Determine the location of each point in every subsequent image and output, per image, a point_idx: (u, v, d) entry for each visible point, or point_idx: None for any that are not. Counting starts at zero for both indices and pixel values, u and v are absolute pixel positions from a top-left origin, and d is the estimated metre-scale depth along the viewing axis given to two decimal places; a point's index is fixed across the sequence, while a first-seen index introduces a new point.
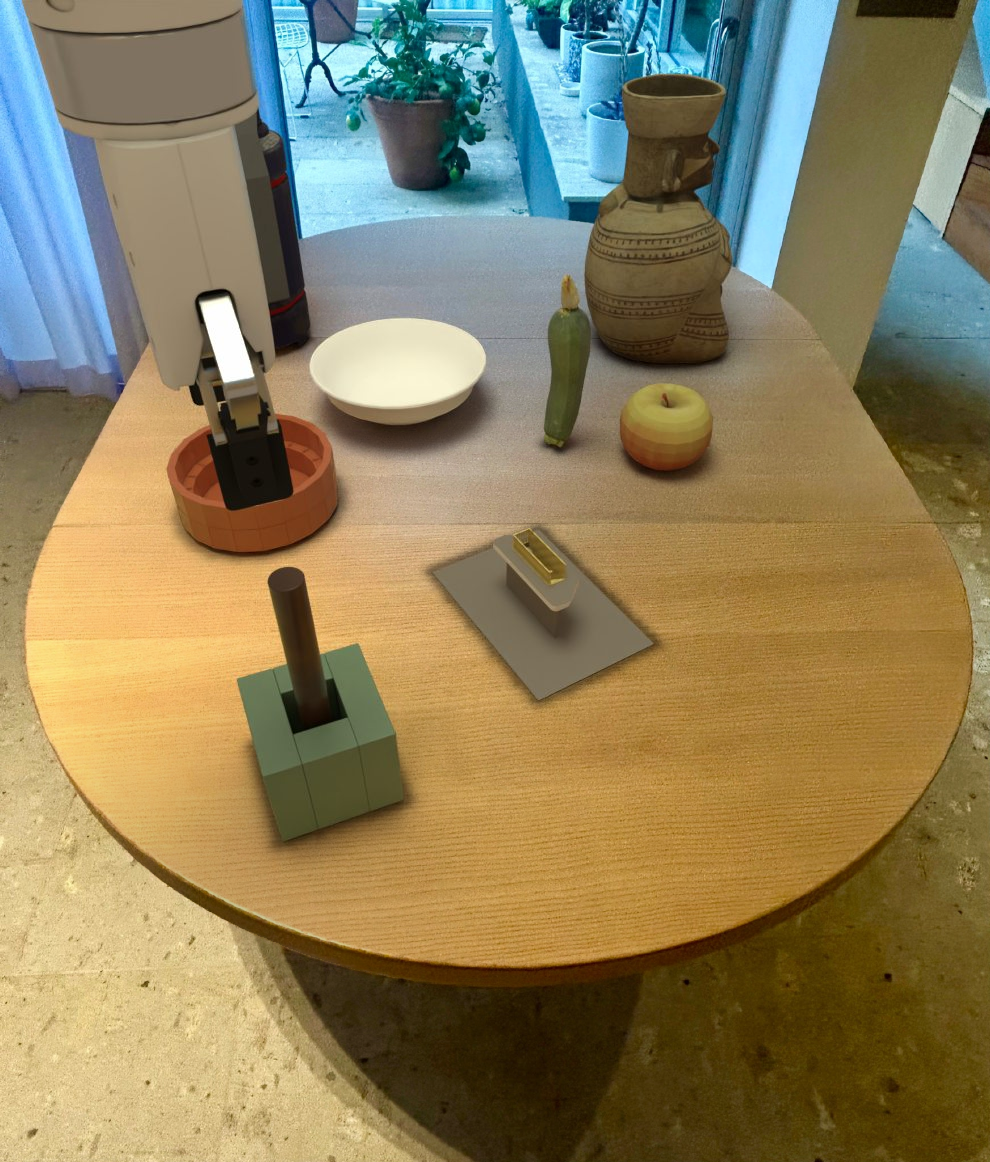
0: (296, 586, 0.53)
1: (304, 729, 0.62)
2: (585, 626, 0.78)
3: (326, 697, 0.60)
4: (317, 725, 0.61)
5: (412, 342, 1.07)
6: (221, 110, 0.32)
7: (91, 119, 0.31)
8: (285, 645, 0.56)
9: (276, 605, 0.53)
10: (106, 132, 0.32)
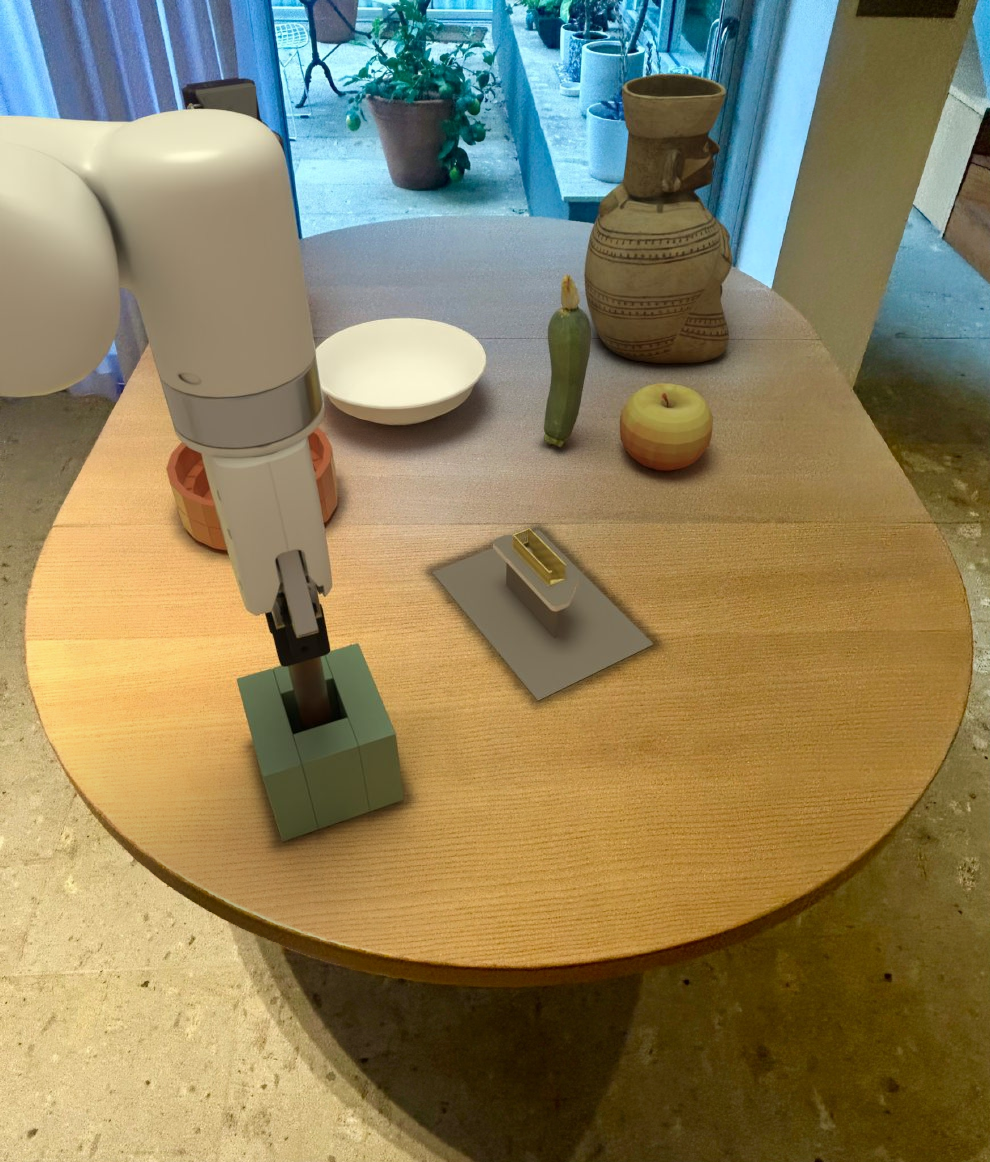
0: None
1: (304, 729, 0.62)
2: (585, 627, 0.78)
3: (326, 697, 0.60)
4: (317, 725, 0.61)
5: (412, 342, 1.07)
6: (299, 430, 0.43)
7: (204, 443, 0.42)
8: None
9: None
10: (215, 452, 0.42)
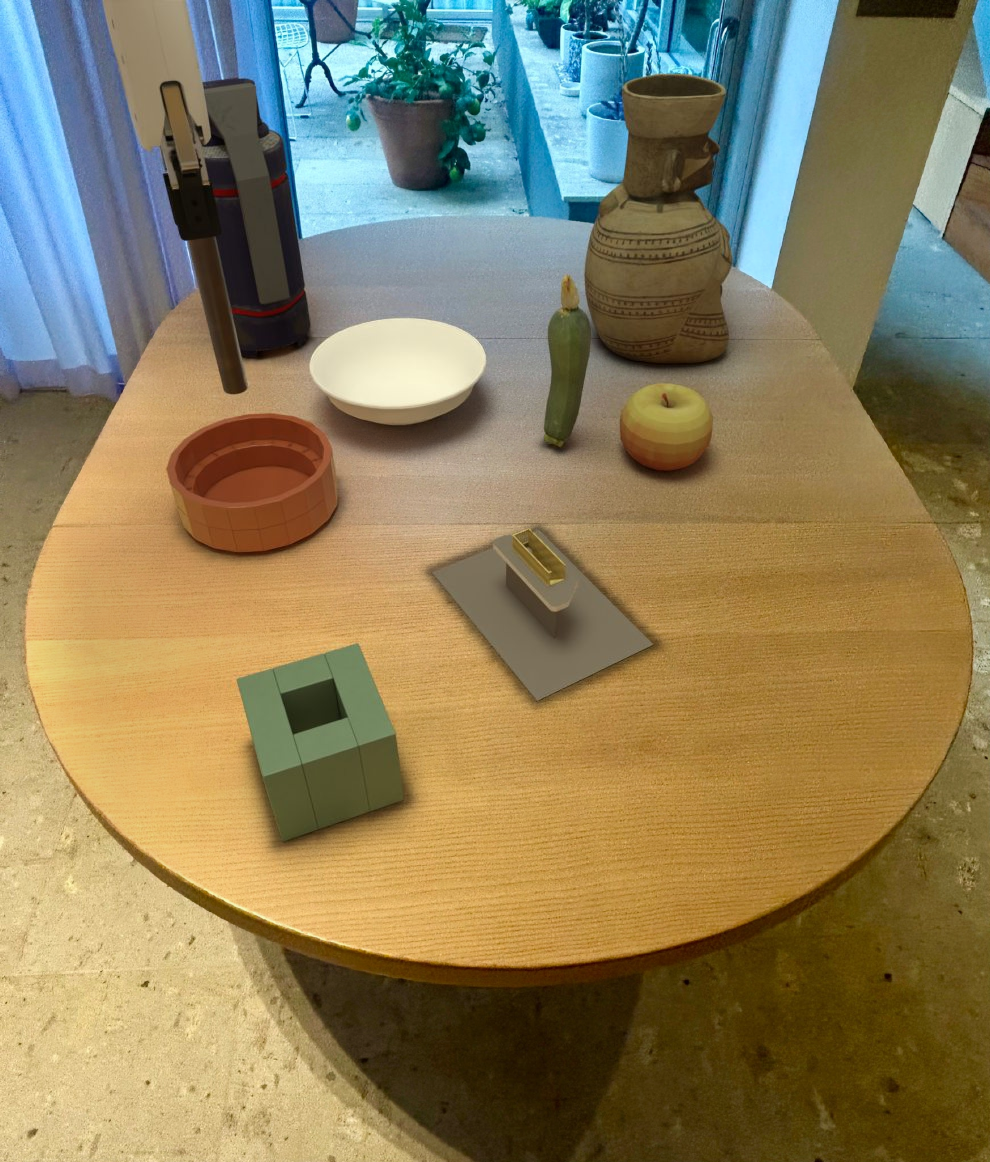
0: None
1: (210, 328, 0.76)
2: (585, 627, 0.78)
3: (225, 294, 0.74)
4: (219, 321, 0.75)
5: (412, 342, 1.07)
6: None
7: None
8: None
9: None
10: None
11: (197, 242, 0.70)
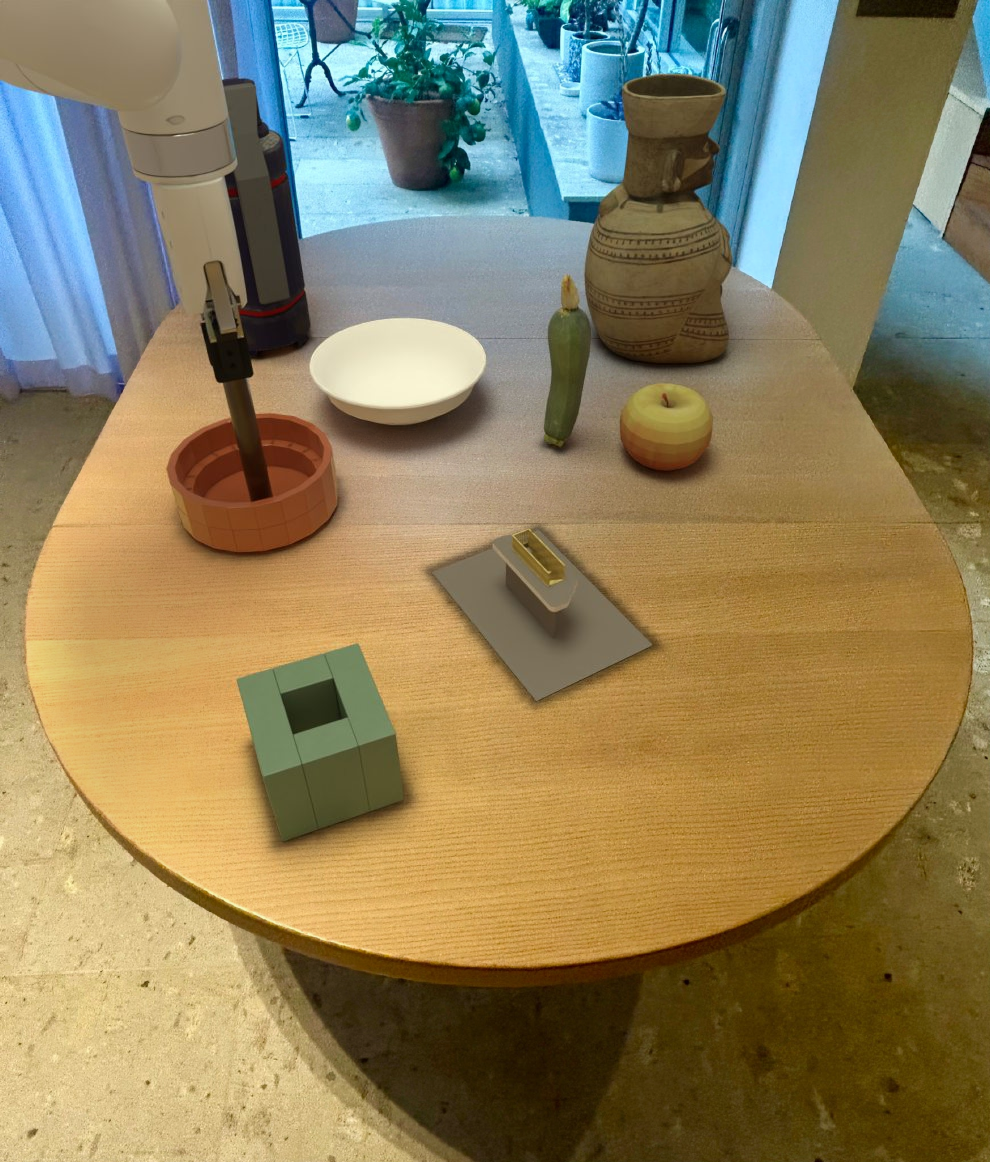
0: None
1: (240, 452, 0.82)
2: (584, 627, 0.78)
3: (255, 423, 0.81)
4: (249, 447, 0.82)
5: (412, 342, 1.07)
6: (217, 169, 0.64)
7: (152, 174, 0.63)
8: None
9: None
10: (159, 180, 0.63)
11: (231, 382, 0.77)
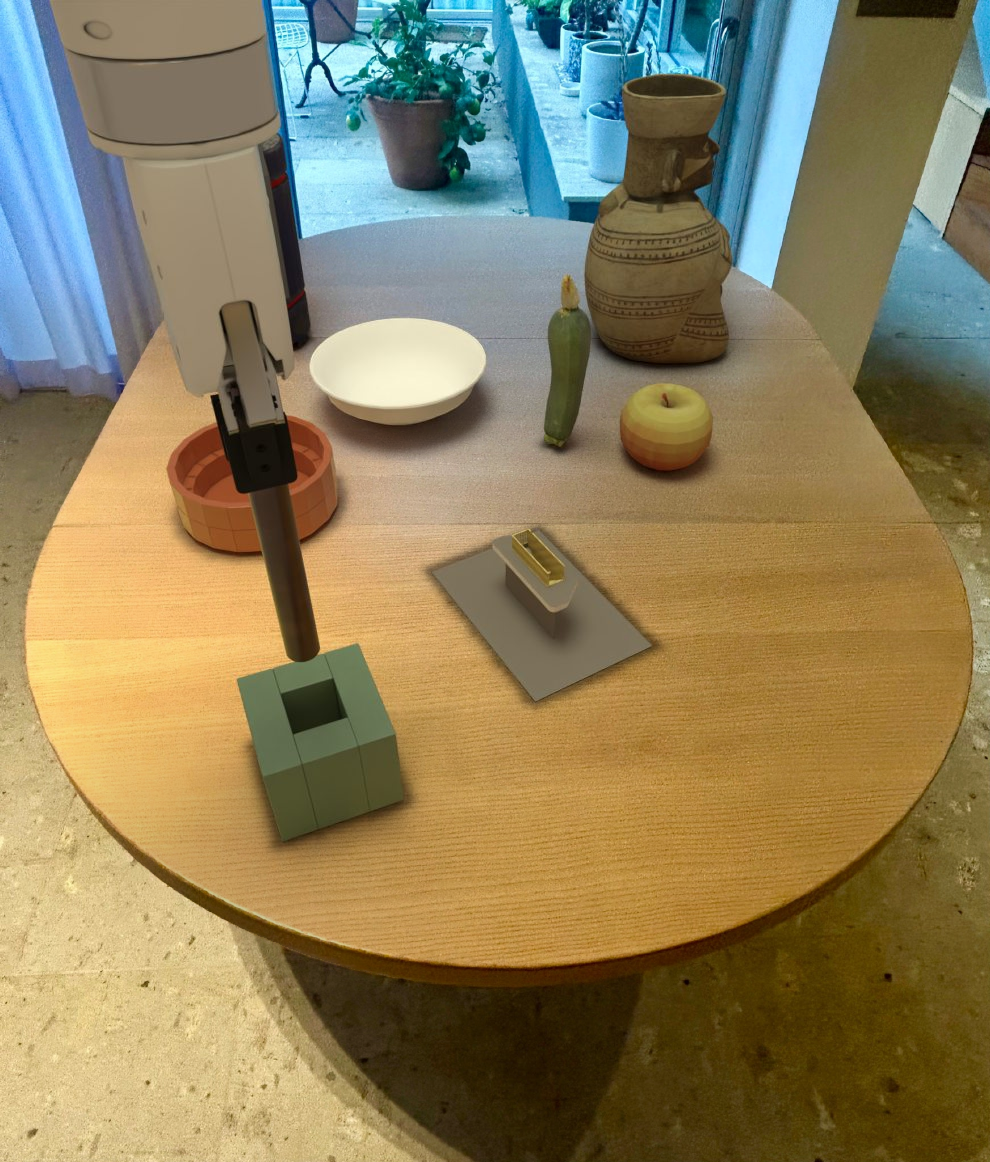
0: None
1: (272, 588, 0.53)
2: (584, 628, 0.78)
3: (297, 546, 0.51)
4: (287, 581, 0.52)
5: (412, 342, 1.07)
6: (246, 131, 0.34)
7: (123, 140, 0.33)
8: None
9: None
10: (137, 152, 0.33)
11: None
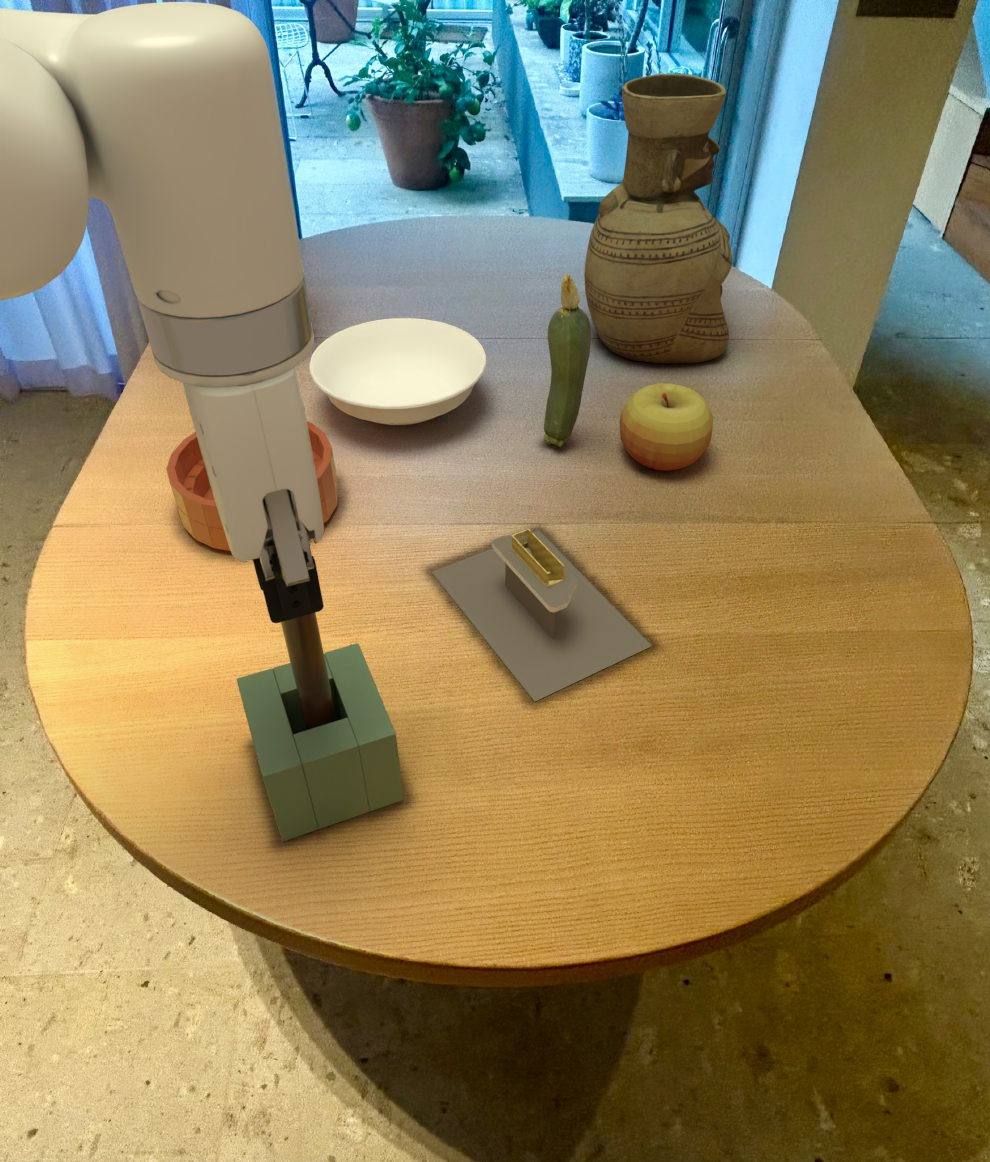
0: None
1: (299, 692, 0.59)
2: (584, 628, 0.78)
3: (322, 658, 0.58)
4: (313, 687, 0.59)
5: (412, 342, 1.07)
6: (287, 358, 0.41)
7: (185, 371, 0.40)
8: None
9: None
10: (197, 381, 0.40)
11: None
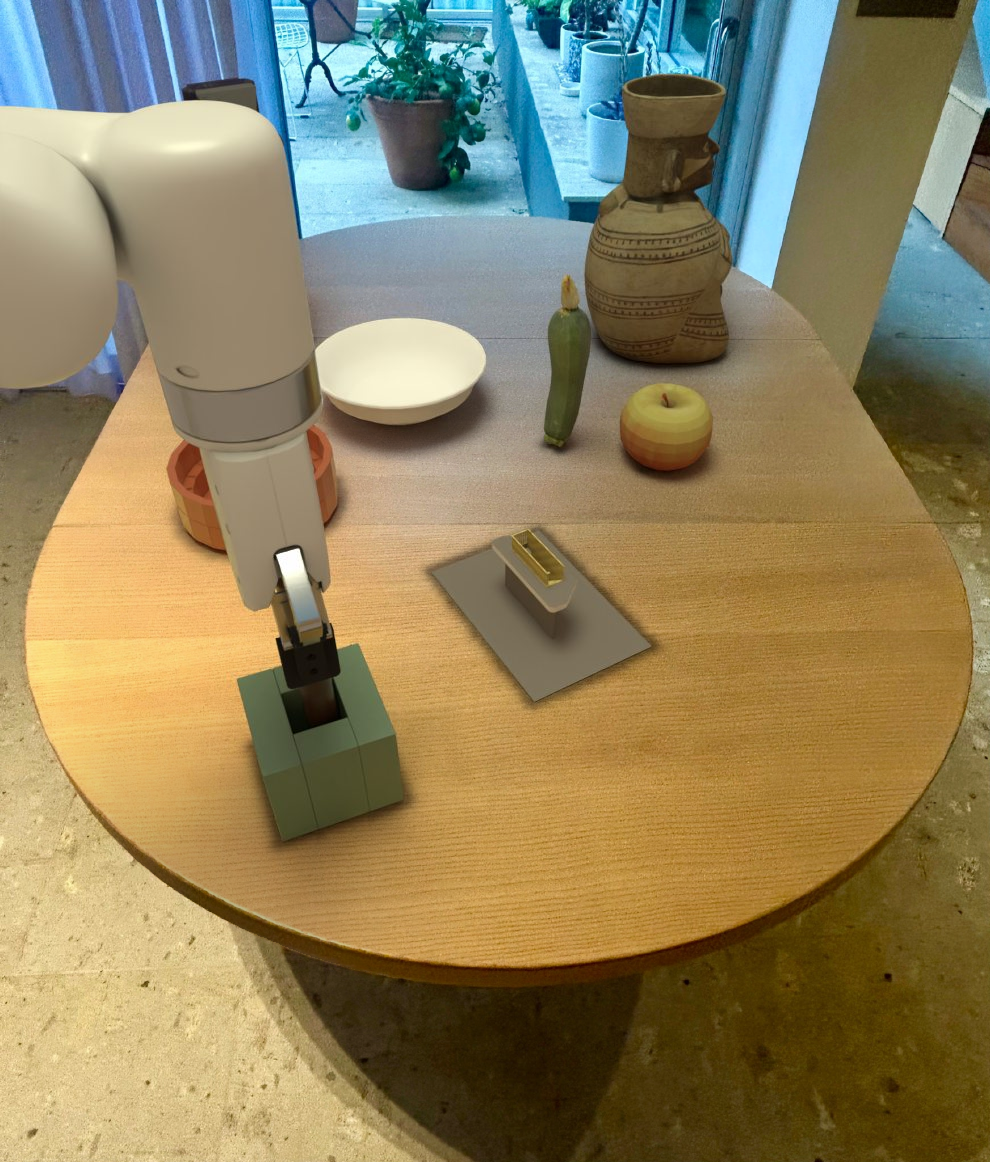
0: None
1: (310, 727, 0.62)
2: (583, 628, 0.78)
3: (332, 695, 0.60)
4: (323, 723, 0.61)
5: (412, 342, 1.07)
6: (298, 424, 0.43)
7: (202, 437, 0.42)
8: None
9: (283, 603, 0.53)
10: (213, 446, 0.42)
11: None
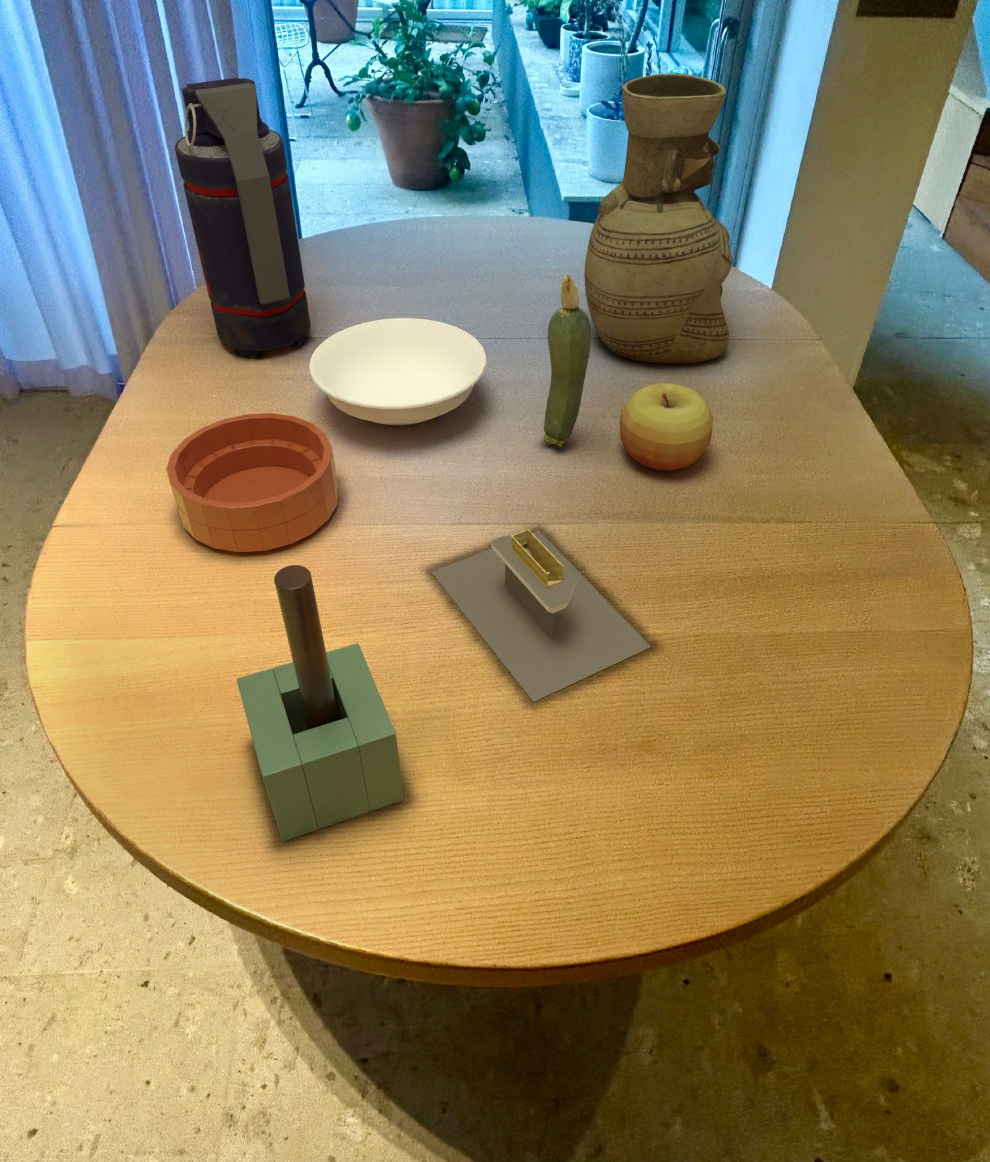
0: (303, 584, 0.53)
1: (310, 727, 0.62)
2: (583, 628, 0.78)
3: (332, 695, 0.60)
4: (323, 723, 0.61)
5: (412, 342, 1.07)
6: None
7: None
8: (291, 643, 0.56)
9: (283, 603, 0.53)
10: None
11: (304, 658, 0.57)
